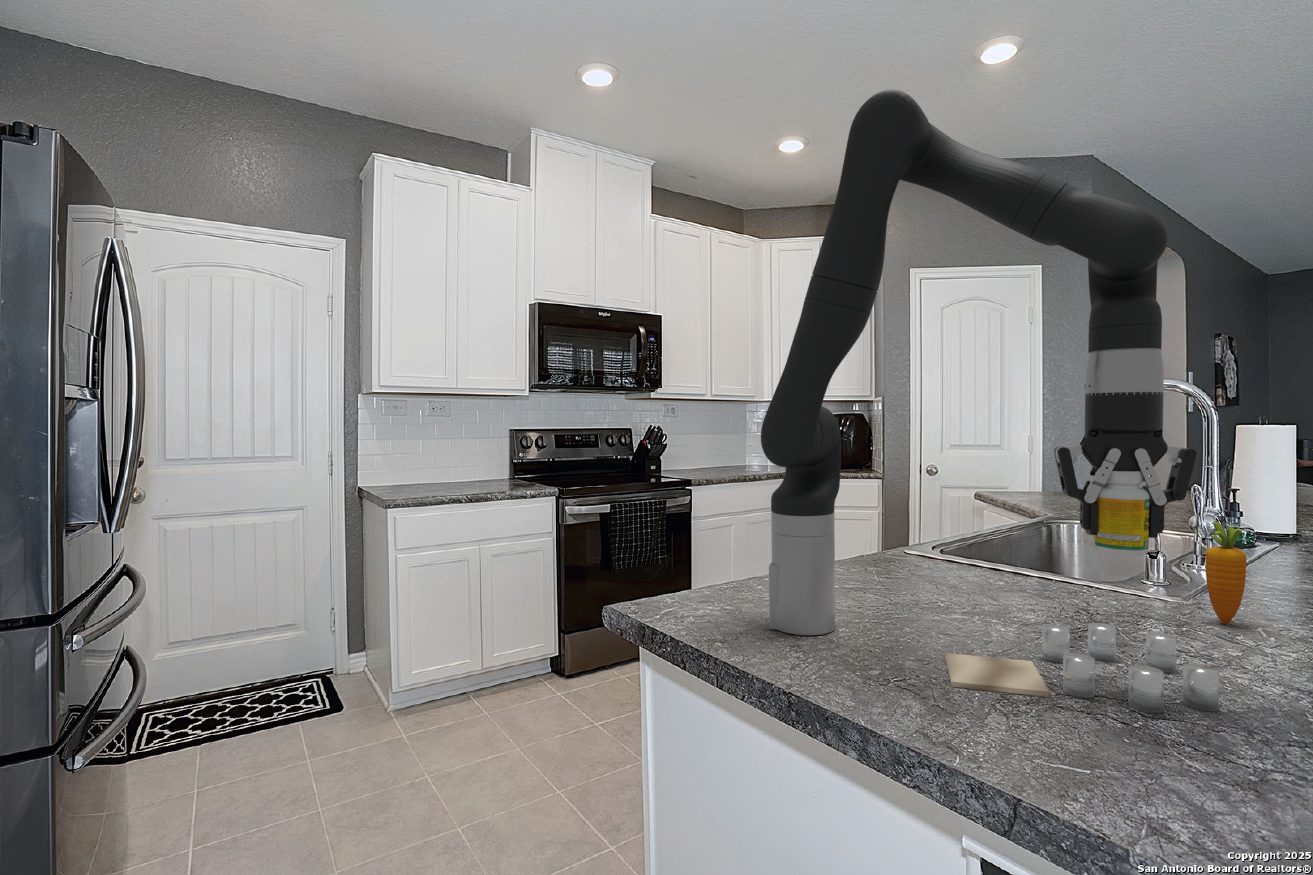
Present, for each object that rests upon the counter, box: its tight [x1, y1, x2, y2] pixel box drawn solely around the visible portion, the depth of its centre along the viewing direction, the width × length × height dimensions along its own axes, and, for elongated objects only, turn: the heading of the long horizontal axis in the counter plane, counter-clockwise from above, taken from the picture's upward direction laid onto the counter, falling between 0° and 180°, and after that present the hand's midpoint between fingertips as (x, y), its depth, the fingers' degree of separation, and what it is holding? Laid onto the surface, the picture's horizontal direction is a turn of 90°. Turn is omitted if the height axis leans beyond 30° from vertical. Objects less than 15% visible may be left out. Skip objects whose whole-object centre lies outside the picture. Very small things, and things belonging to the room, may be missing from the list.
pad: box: [944, 652, 1051, 698], centre depth 81 cm, size 10×10×1 cm
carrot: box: [1205, 521, 1247, 626], centre depth 100 cm, size 5×5×15 cm
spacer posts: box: [1041, 622, 1220, 714], centre depth 80 cm, size 14×19×4 cm
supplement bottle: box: [1092, 471, 1150, 557], centre depth 79 cm, size 5×5×10 cm
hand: (1120, 534), depth 79 cm, fingers closed on supplement bottle, 5 cm apart
